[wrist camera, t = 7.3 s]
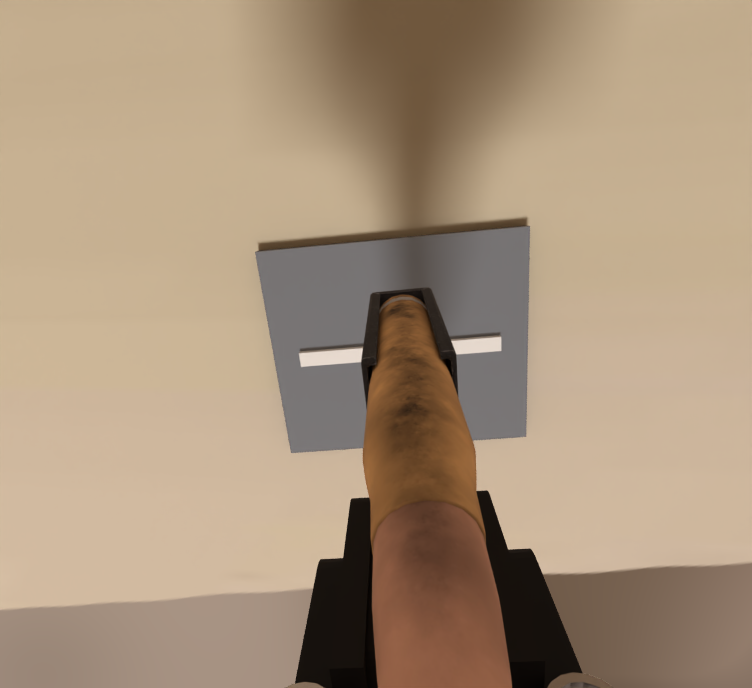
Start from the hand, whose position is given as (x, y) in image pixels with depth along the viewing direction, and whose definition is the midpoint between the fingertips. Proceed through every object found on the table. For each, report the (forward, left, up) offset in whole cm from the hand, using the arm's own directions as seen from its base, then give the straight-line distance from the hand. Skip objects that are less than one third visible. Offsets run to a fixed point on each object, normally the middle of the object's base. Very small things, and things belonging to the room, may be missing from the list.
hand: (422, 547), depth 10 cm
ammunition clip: (0, 0, -5) cm, 5 cm away
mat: (0, 0, -15) cm, 15 cm away
